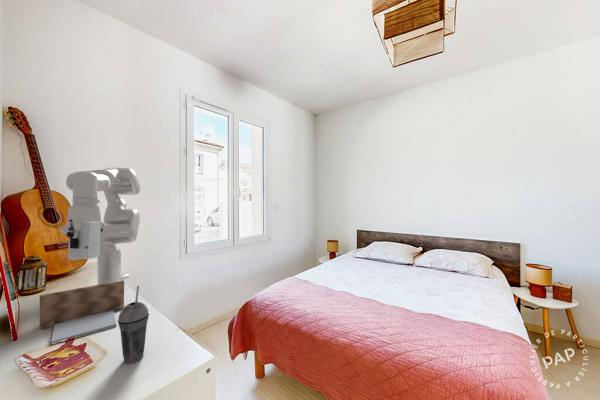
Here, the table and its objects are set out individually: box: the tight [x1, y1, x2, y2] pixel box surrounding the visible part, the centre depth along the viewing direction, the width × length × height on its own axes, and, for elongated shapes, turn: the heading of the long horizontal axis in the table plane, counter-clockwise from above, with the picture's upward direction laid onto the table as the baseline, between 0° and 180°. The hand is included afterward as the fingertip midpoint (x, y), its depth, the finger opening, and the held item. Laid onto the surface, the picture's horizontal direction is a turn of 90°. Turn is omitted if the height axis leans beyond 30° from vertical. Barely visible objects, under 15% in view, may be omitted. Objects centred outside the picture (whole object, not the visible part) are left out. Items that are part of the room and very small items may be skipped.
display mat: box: [50, 310, 117, 343], centre depth 84 cm, size 16×14×1 cm
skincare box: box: [67, 221, 102, 261], centre depth 97 cm, size 8×6×15 cm
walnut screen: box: [39, 279, 125, 330], centre depth 93 cm, size 24×6×11 cm, turn 132°
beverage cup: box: [117, 285, 150, 365], centre depth 68 cm, size 7×7×20 cm
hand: (84, 246), depth 97 cm, fingers closed on skincare box, 6 cm apart
